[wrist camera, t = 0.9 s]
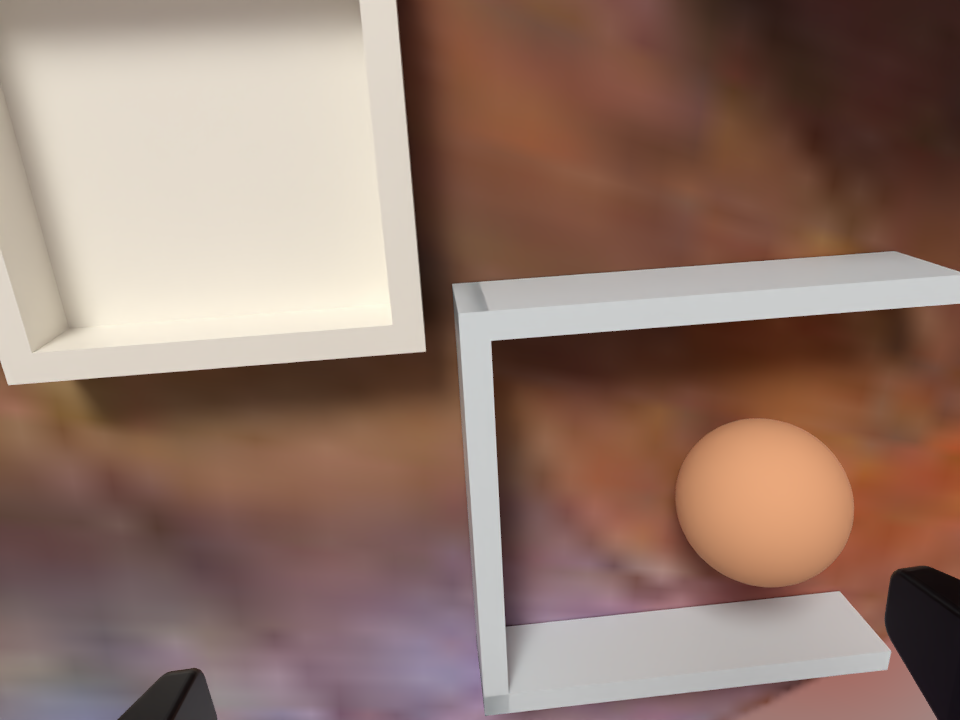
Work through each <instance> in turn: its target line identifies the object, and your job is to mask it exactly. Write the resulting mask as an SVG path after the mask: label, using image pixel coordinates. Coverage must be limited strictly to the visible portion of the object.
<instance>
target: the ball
mask: <svg viewBox="0 0 960 720" xmlns="http://www.w3.org/2000/svg"><path fill="white" fill-rule="evenodd" d="M675 504H676V511H677V516H678V520H679V523H680V526H681V528H682V530H683V532H684V534H685V536H686V538H687V540H688V542H689V543H690V545H691V546H692V547H693V549H694V550H695V551H696V552H697V554H698V555H699V556H700V557H701V558H702V559H703V560H704V561H705V562H706V563H708V564H709V565H710V566H711V567H712V568H714V569H715V570H717V571H718V572H720V573H721V574H723V575H725V576H727V577H729V578H731V579H733V580H736V581H738V582H741V583H744V584H748V585H753V586H759V587H784V586H790V585H794V584H798V583H801V582H804V581H806V580H808V579H810V578H812V577H814V576H816V575H817V574H819V573H821V572H822V571H823V570H825V569H826V568H827V567H828V566H829V565H830V564H832V563H833V562H834V560H835V559H836V558H837V557H838V556H839V554H840V553H841V551H842V550H843V548H844V546H845V544H846V543H847V540H848V538H849V535H850V532H851V529H852V525H853V517H854V500H853V494H852V489H851V485H850V483H849V480H848V478H847V475H846V473H845V470H844V469H843V467H842V466H841V464H840V462H839V461H838V459H837V458H836V456H835V455H834V454H833V453H832V452H831V451H830V450H829V448H828V447H827V446H826V445H825V444H824V443H822V442H821V441H820V440H819V439H817V438H816V437H815V436H813V435H812V434H810V433H808V432H807V431H805V430H803V429H801V428H799V427H797V426H794V425H792V424H789V423H786V422H782V421H778V420H773V419H765V418H754V419H743V420H737V421H734V422H730V423H728V424H725V425H722V426H720V427H718V428H716V429H714V430H712V431H711V432H709V433H708V434H707V435H705V436H704V437H703V438H702V439H700V440H699V441H698V442H697V443H696V444H695V445H694V447H693V448H692V449H691V451H690V452H689V453H688V455H687V456H686V458H685V460H684V461H683V463H682V466H681V468H680V470H679V474H678V478H677V482H676V489H675Z"/></svg>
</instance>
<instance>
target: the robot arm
mask: <svg viewBox="0 0 960 720" xmlns="http://www.w3.org/2000/svg"><path fill="white" fill-rule="evenodd" d="M885 626H886V630H887V633H888V636H889V638H890V640H891V641H892V643H893V645H894V647H895V648H896V650H897V652H898V653H899V655H900V657H901V658H902V660H903V662H904V663H905V665H906V667H907V668H908V670H909V672H910V673H911V675H912V677H913V679H914V680H915V682H916V684H917V685H918V687H919V689H920V690H921V692H922V693H923V695H924V697H925V699H926V701H927V702H928V704H929V706H930V707H931V709H932V711H933V712H934V714H935V716H936V717H937V719H938V720H960V580H959V579H957V578H955V577H952V576H950V575H948V574H945V573H943V572H941V571H938V570H936V569H934V568H931V567H928V566H916V567H908V568H901V569H898V570H896V571H894V572H893V574H892V575H891V578H890V583H889V590H888V597H887V604H886V611H885ZM118 720H217V715H216V712H215V708H214V705H213V702H212V699H211V695H210V692H209V689H208V686H207V683H206V679H205V676H204V674H203V673H202V671H201V670H199V669H197V668H191V669H184V670H177V671H171V672H168V673H166V674H164V675H163V676H162V677H160V678H159V679H158V680H157V681H156V682H155V683H154V684H153V685H152V686H151V687H150V688H149V689H148V690H147V691H146V692H145V693H144V694H143V695H142V696H141V697H140V698H139V699H138V700H137V701H136V702H135V703H134V704H133V705H132V706H131V707H130V708H129V709H128V710H127V711H126V712H125V713H124V714H123V715H122V716H121V717H120V718H119V719H118Z"/></svg>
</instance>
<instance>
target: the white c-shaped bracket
mask: <svg viewBox="0 0 960 720" xmlns="http://www.w3.org/2000/svg"><path fill="white" fill-rule="evenodd" d="M452 290H453V304H454V319H455V333H456V348H457V362H458V377H459V391H460V406H461V420H462V435H463V449H464V464H465V478H466V493H467V507H468V522H469V536H470V551H471V565H472V580H473V594H474V609H475V623H476V638H477V650H478V659H479V668H480V676H481V685H482V693H483V702H484V711H485V716H488V715H497V714H506V713H514V712H523V711H532V710H541V709H549V708H558V707H567V706H575V705H584V704H593V703H602V702H610V701H619V700H628V699H636V698H645V697H654V696H662V695H671V694H680V693H689V692H697V691H706V690H715V689H723V688H732V687H741V686H749V685H758V684H767V683H776V682H784V681H793V680H802V679H810V678H819V677H828V676H837V675H845V674H854V673H862V672H871V671H879V670H887V669H888V664H889V659H890V654H891V650H890V649H889V648H888V647H887V646H886V644H885V643H884V642H883V641H882V640H881V639H880V637H879V636H878V635H877V634H876V633H875V632H874V631H873V629H872V628H871V627H870V626H869V625H868V624H867V622H866V621H865V620H864V619H863V618H862V617H861V615H860V614H859V613H858V612H857V611H856V610H855V609H854V607H853V606H852V605H851V604H850V603H849V602H848V600H847V599H846V598H845V597H844V596H843V595H842V594H841V592H840V591H837V592H827V593H818V594H808V595H799V596H790V597H780V598H771V599H762V600H752V601H743V602H733V603H724V604H715V605H705V606H696V607H687V608H677V609H668V610H658V611H649V612H640V613H630V614H621V615H612V616H602V617H593V618H584V619H574V620H565V621H555V622H546V623H537V624H527V625H518V626H509V627H505V610H504V590H503V570H502V549H501V529H500V509H499V489H498V469H497V449H496V429H495V409H494V389H493V369H492V348H491V341H494V340H507V339H519V338H532V337H544V336H557V335H569V334H582V333H594V332H607V331H620V330H632V329H645V328H657V327H670V326H682V325H695V324H707V323H720V322H733V321H745V320H758V319H770V318H783V317H795V316H808V315H820V314H833V313H846V312H858V311H871V310H883V309H896V308H908V307H921V306H933V305H946V304H959V303H960V272H959V271H956V270H952V269H949V268H946V267H943V266H940V265H937V264H933V263H930V262H927V261H924V260H921V259H918V258H915V257H911V256H908V255H905V254H902V253H899V252H896V251H891V252H877V253H864V254H850V255H837V256H823V257H810V258H796V259H783V260H769V261H756V262H742V263H729V264H715V265H702V266H688V267H675V268H661V269H648V270H634V271H621V272H607V273H594V274H580V275H567V276H553V277H539V278H526V279H512V280H499V281H485V282H472V283H458V284H452Z"/></svg>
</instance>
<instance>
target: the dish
mask: <svg viewBox="0 0 960 720" xmlns="http://www.w3.org/2000/svg"><path fill="white" fill-rule="evenodd" d="M415 352H426V342H425V322H424V310H423V298H422V287H421V275H420V263H419V251H418V240H417V228H416V216H415V204H414V193H413V181H412V169H411V157H410V146H409V134H408V122H407V111H406V99H405V87H404V75H403V64H402V52H401V40H400V28H399V17H398V5H397V0H0V361H1V364H2V367H3V370H4V373H5V376H6V380H7V383H8V385H16V384H28V383H41V382H53V381H66V380H78V379H91V378H103V377H116V376H128V375H141V374H153V373H166V372H178V371H191V370H203V369H215V368H228V367H240V366H253V365H265V364H278V363H290V362H303V361H315V360H328V359H340V358H353V357H365V356H378V355H390V354H403V353H415Z"/></svg>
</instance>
